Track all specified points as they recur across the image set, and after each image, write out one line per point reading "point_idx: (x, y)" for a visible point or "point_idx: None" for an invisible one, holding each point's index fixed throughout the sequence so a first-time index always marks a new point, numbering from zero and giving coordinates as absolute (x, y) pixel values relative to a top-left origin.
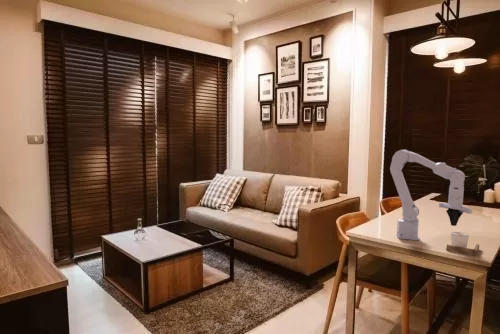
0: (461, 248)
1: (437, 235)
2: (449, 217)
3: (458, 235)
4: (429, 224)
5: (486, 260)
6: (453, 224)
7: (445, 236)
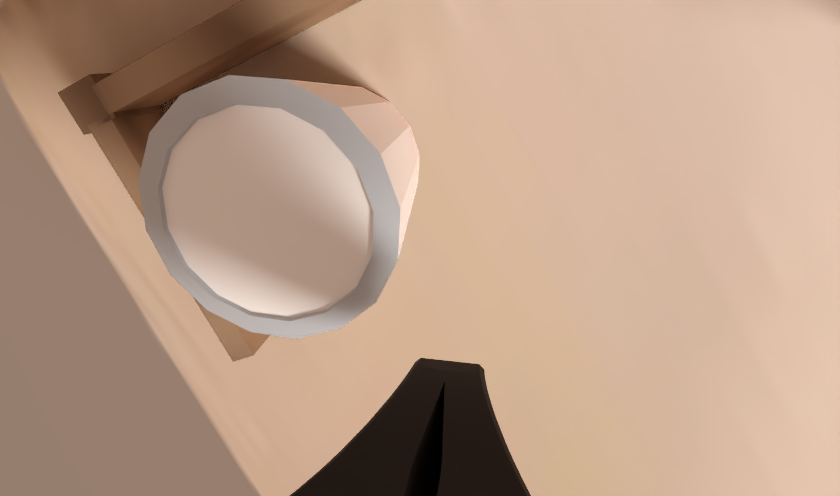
0: (199, 28)
1: (770, 426)
2: (514, 492)
3: (207, 106)
4: None
5: (11, 69)
6: (411, 368)
7: (685, 458)
